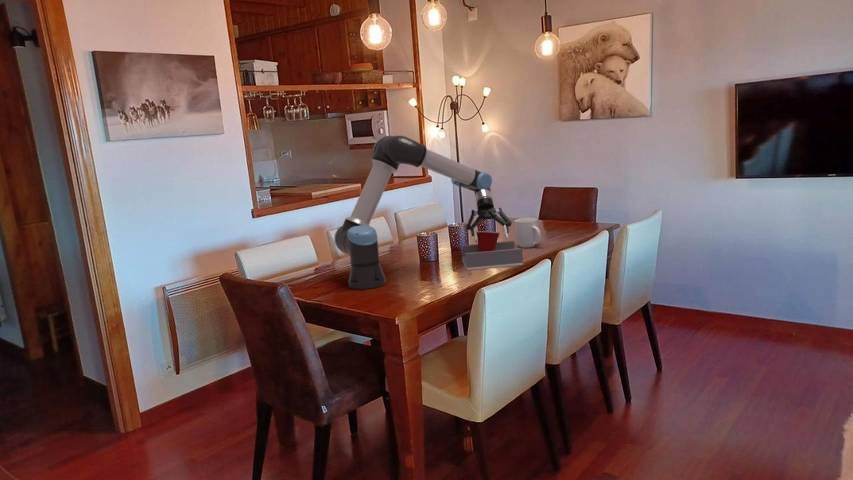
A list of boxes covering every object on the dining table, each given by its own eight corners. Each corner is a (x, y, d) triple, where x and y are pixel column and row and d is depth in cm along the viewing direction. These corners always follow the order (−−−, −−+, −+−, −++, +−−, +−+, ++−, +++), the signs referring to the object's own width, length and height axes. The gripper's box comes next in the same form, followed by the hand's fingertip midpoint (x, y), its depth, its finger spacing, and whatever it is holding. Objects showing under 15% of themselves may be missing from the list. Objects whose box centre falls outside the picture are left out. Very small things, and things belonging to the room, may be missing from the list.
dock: (467, 270, 249) (465, 254, 248) (462, 260, 267) (461, 245, 266) (523, 264, 250) (522, 248, 249) (514, 255, 268) (513, 240, 266)
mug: (549, 246, 280) (548, 219, 277) (532, 251, 274) (530, 223, 271) (527, 243, 292) (526, 217, 290) (510, 247, 286) (509, 220, 284)
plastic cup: (468, 256, 263) (472, 229, 264) (490, 259, 266) (493, 233, 267) (478, 256, 252) (481, 228, 253) (501, 259, 256) (504, 232, 257)
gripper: (510, 204, 274) (518, 242, 262) (457, 209, 273) (463, 247, 261) (512, 194, 267) (520, 232, 256) (457, 199, 267) (463, 237, 255)
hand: (491, 240), depth 258 cm, fingers open, 13 cm apart
